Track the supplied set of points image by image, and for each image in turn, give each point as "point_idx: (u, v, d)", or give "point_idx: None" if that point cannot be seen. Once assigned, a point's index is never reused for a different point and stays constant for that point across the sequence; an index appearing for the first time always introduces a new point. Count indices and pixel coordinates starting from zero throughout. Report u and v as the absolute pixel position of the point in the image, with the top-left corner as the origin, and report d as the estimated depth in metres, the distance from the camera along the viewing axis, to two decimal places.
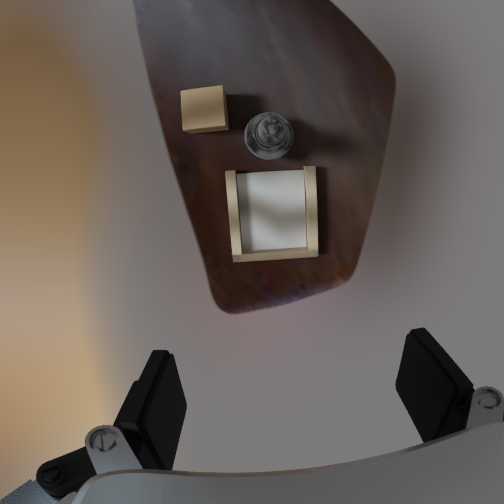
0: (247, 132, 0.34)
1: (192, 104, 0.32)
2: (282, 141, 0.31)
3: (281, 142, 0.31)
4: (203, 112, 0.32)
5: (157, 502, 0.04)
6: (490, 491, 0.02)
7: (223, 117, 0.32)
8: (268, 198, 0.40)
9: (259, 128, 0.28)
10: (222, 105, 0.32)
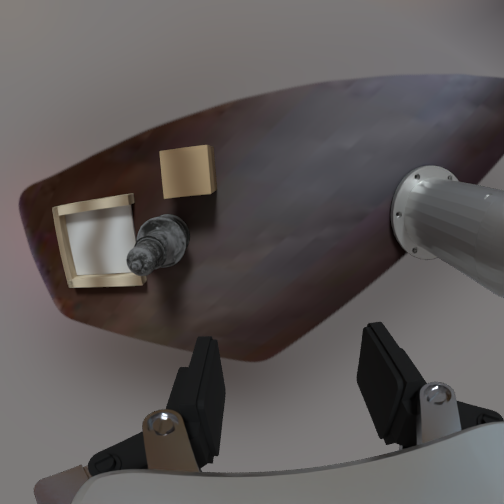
0: (162, 220, 0.32)
1: (189, 160, 0.29)
2: None
3: None
4: (179, 173, 0.29)
5: (157, 502, 0.04)
6: (490, 491, 0.02)
7: (172, 196, 0.30)
8: (110, 237, 0.36)
9: (138, 249, 0.26)
10: (186, 194, 0.30)
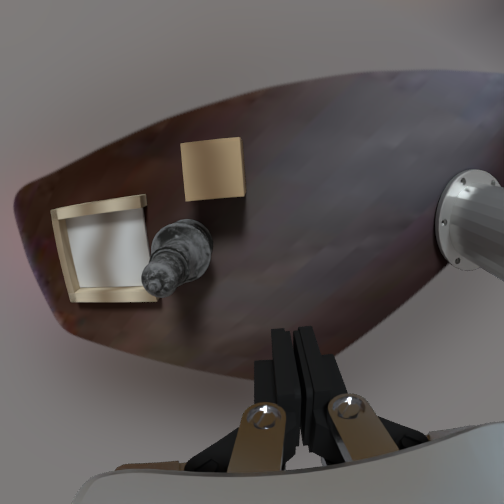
0: (182, 227, 0.27)
1: (217, 154, 0.24)
2: None
3: None
4: (205, 171, 0.25)
5: (157, 502, 0.04)
6: (490, 491, 0.02)
7: (196, 198, 0.25)
8: (118, 245, 0.31)
9: (157, 265, 0.21)
10: (214, 196, 0.25)
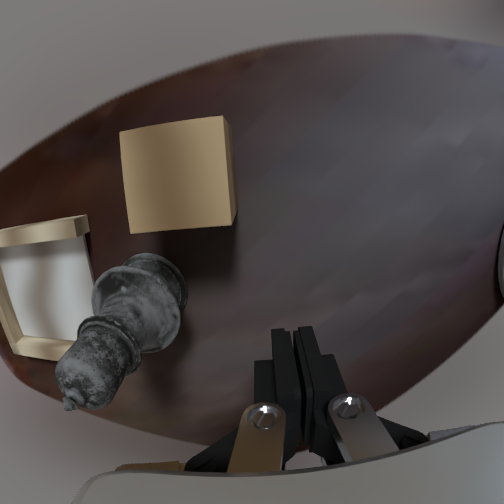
0: (132, 273, 0.16)
1: (182, 149, 0.13)
2: None
3: None
4: (160, 179, 0.13)
5: (157, 502, 0.04)
6: (490, 491, 0.02)
7: (148, 229, 0.14)
8: (58, 287, 0.20)
9: (73, 363, 0.10)
10: (177, 226, 0.14)
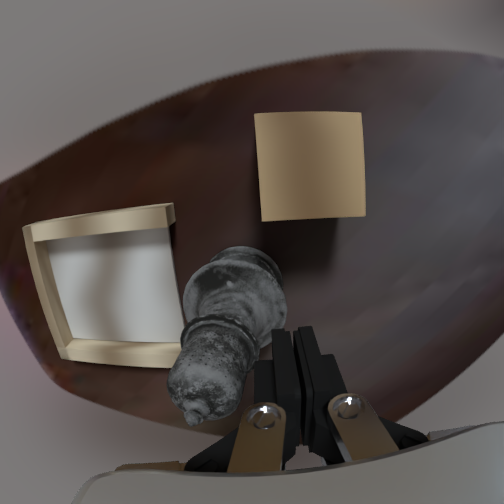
0: (239, 267, 0.16)
1: (323, 139, 0.13)
2: None
3: None
4: (300, 167, 0.13)
5: (157, 502, 0.04)
6: (490, 491, 0.02)
7: (282, 217, 0.14)
8: (129, 283, 0.20)
9: (200, 370, 0.10)
10: (314, 215, 0.14)
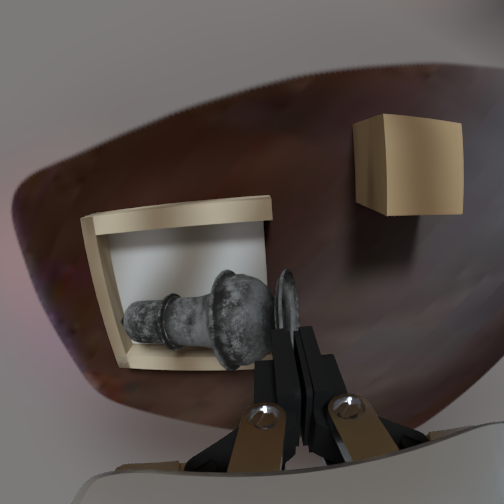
0: None
1: (436, 144, 0.13)
2: None
3: None
4: (419, 168, 0.13)
5: (157, 502, 0.04)
6: (490, 491, 0.02)
7: (403, 212, 0.14)
8: (212, 281, 0.20)
9: (127, 308, 0.18)
10: (427, 211, 0.14)
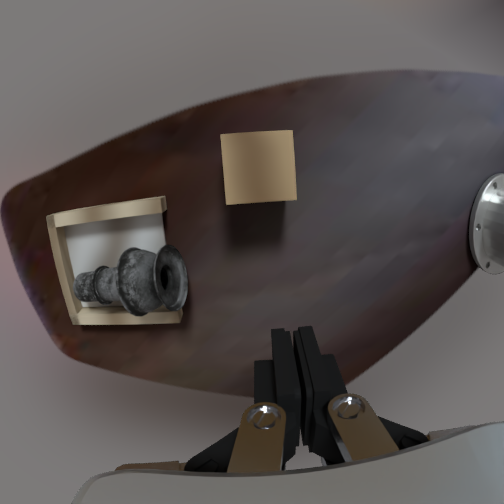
0: None
1: (266, 149, 0.20)
2: None
3: None
4: (250, 168, 0.21)
5: (157, 502, 0.04)
6: (490, 491, 0.02)
7: (239, 201, 0.21)
8: None
9: (76, 277, 0.25)
10: (261, 200, 0.21)
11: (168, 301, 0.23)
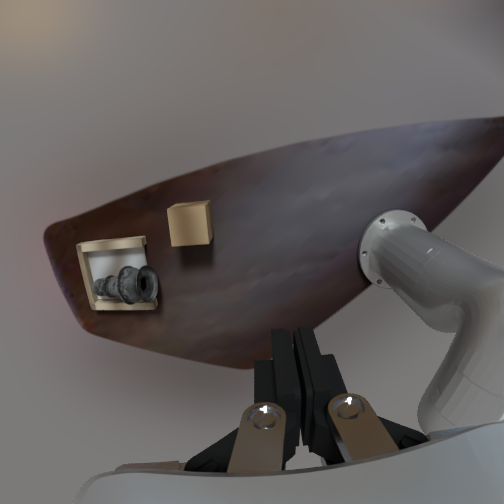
0: None
1: (191, 217, 0.38)
2: None
3: None
4: (183, 227, 0.38)
5: (157, 502, 0.04)
6: (490, 491, 0.02)
7: (178, 245, 0.39)
8: None
9: None
10: (189, 244, 0.39)
11: (145, 296, 0.41)
